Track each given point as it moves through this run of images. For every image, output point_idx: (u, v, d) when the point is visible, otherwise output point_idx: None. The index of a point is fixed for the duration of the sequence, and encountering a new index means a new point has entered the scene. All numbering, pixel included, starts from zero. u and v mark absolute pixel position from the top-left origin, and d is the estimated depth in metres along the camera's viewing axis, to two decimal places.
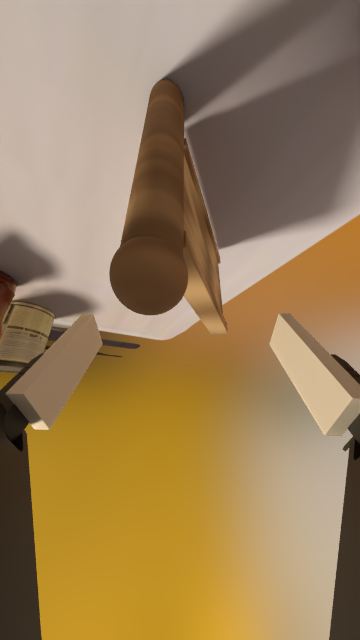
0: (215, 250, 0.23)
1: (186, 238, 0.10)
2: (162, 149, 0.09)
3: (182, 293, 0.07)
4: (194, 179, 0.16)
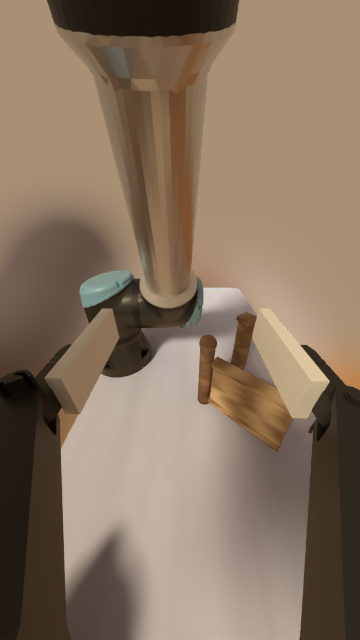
0: None
1: None
2: None
3: (214, 337, 0.32)
4: None
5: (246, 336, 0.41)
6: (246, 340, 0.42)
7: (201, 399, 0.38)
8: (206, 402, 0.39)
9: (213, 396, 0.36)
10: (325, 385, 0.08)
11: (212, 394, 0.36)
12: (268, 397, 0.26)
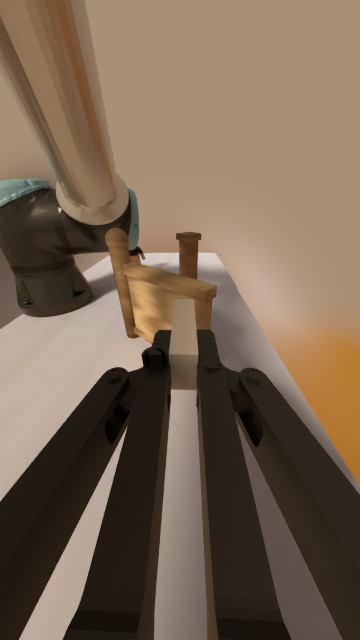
0: None
1: None
2: None
3: (125, 233, 0.25)
4: None
5: (189, 259, 0.34)
6: (189, 266, 0.34)
7: (128, 330, 0.31)
8: (135, 335, 0.31)
9: (137, 322, 0.29)
10: (196, 358, 0.09)
11: (136, 319, 0.29)
12: (175, 287, 0.19)
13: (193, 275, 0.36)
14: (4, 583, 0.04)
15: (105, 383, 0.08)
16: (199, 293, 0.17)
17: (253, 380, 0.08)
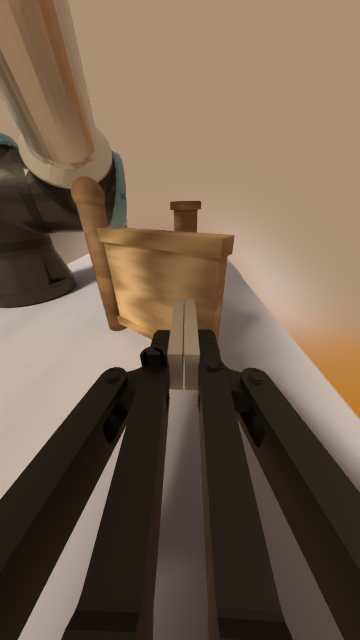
0: None
1: None
2: None
3: (100, 186, 0.18)
4: None
5: None
6: None
7: (109, 321, 0.25)
8: (118, 327, 0.25)
9: (121, 308, 0.23)
10: (198, 358, 0.09)
11: (119, 305, 0.23)
12: (173, 245, 0.14)
13: None
14: (2, 583, 0.04)
15: (104, 383, 0.08)
16: (211, 245, 0.12)
17: (255, 380, 0.08)
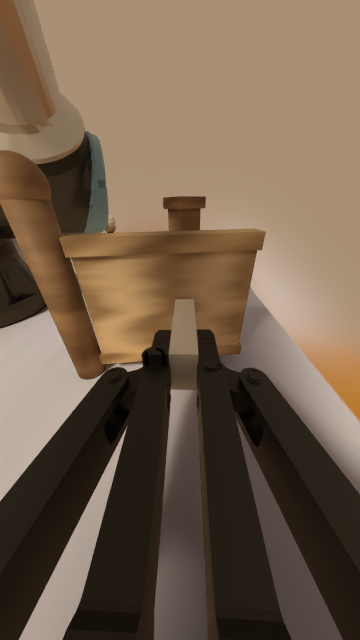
0: None
1: None
2: None
3: (40, 169, 0.11)
4: None
5: None
6: None
7: (76, 367, 0.17)
8: (89, 374, 0.18)
9: (107, 342, 0.17)
10: (196, 358, 0.09)
11: (103, 339, 0.16)
12: (209, 244, 0.13)
13: None
14: (4, 583, 0.04)
15: (105, 383, 0.08)
16: (253, 239, 0.13)
17: (253, 380, 0.08)
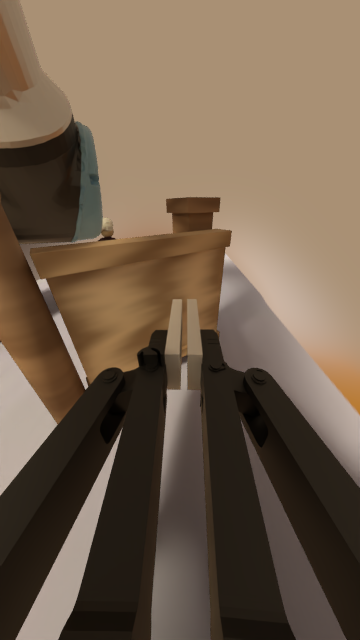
0: None
1: None
2: None
3: None
4: None
5: None
6: None
7: (53, 417, 0.13)
8: None
9: (97, 373, 0.14)
10: (201, 358, 0.09)
11: (92, 371, 0.14)
12: (194, 245, 0.13)
13: None
14: None
15: (100, 383, 0.08)
16: (224, 237, 0.15)
17: (258, 380, 0.08)
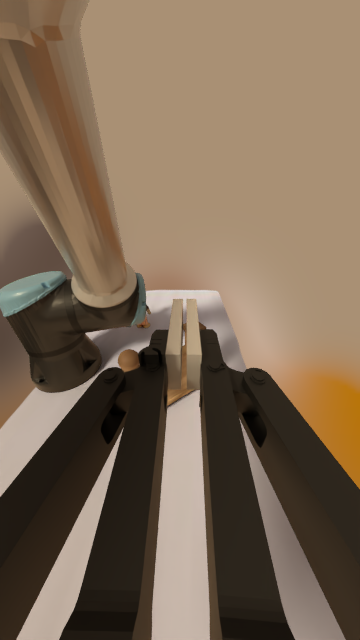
0: None
1: None
2: None
3: (136, 352, 0.26)
4: None
5: None
6: None
7: None
8: None
9: None
10: (200, 358, 0.09)
11: None
12: None
13: None
14: (0, 584, 0.04)
15: (101, 383, 0.08)
16: None
17: (257, 380, 0.08)
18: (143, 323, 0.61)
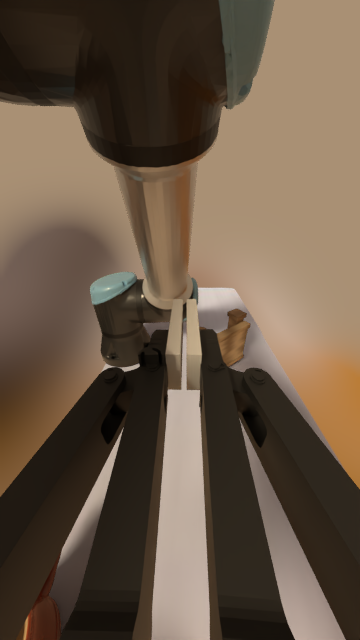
0: None
1: None
2: None
3: None
4: None
5: None
6: None
7: None
8: None
9: None
10: (200, 358, 0.09)
11: None
12: (239, 331, 0.44)
13: None
14: (0, 583, 0.04)
15: (101, 383, 0.08)
16: (248, 326, 0.45)
17: (257, 380, 0.08)
18: None
